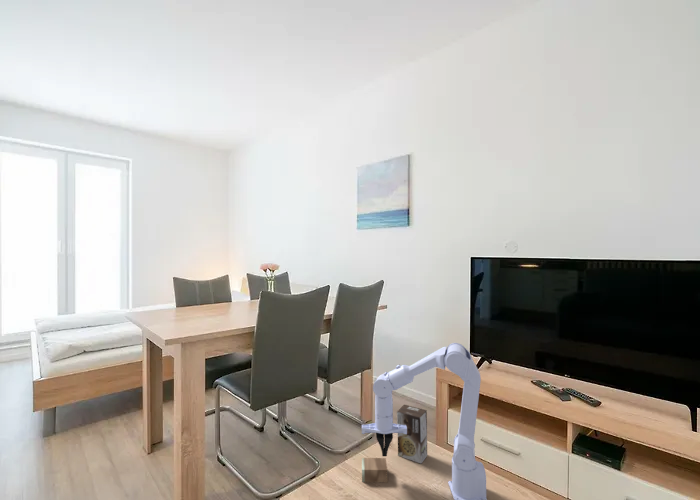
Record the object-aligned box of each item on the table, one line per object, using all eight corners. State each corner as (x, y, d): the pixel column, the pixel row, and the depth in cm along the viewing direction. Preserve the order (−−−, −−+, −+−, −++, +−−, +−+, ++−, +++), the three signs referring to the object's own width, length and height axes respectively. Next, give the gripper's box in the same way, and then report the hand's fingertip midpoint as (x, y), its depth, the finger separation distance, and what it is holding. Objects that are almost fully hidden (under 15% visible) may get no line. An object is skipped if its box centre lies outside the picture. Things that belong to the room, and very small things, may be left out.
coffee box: (428, 454, 122) (427, 409, 122) (421, 464, 117) (420, 417, 116) (404, 446, 127) (404, 403, 127) (396, 455, 122) (396, 410, 121)
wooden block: (385, 458, 114) (361, 457, 114) (387, 470, 108) (361, 469, 108) (385, 469, 114) (362, 469, 114) (387, 482, 108) (362, 482, 108)
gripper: (404, 407, 115) (405, 447, 115) (361, 407, 115) (362, 446, 115) (407, 418, 107) (408, 460, 108) (361, 417, 108) (362, 460, 108)
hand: (384, 454), depth 111 cm, fingers closed
